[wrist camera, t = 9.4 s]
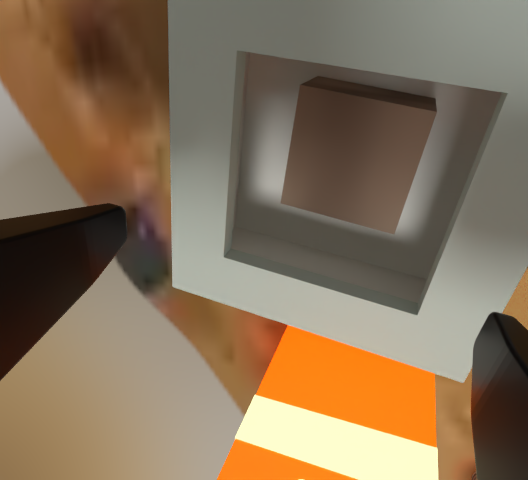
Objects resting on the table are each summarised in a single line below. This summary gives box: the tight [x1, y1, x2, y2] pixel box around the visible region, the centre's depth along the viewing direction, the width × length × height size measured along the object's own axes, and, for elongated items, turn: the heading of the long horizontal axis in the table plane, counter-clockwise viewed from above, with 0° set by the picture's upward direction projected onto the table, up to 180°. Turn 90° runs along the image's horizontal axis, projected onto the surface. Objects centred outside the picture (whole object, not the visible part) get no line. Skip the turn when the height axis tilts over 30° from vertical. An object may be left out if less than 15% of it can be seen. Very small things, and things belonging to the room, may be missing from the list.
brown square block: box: [281, 76, 437, 234], centre depth 17 cm, size 5×5×3 cm
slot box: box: [168, 0, 528, 383], centre depth 16 cm, size 13×13×6 cm
